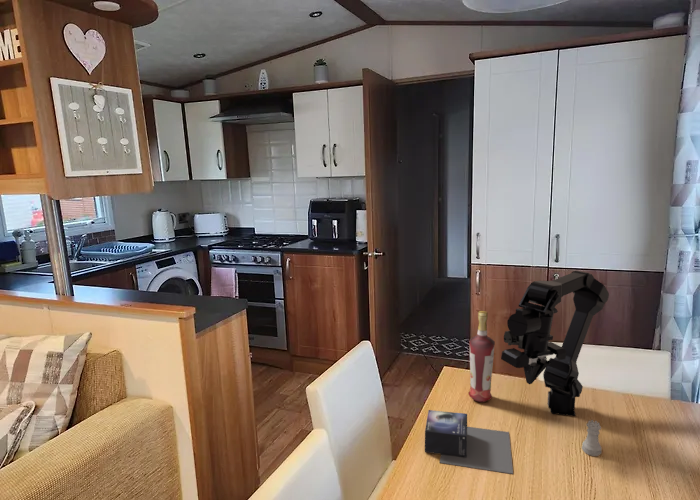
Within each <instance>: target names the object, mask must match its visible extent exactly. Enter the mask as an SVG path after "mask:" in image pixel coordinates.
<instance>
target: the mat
mask: <svg viewBox="0 0 700 500" xmlns="http://www.w3.org/2000/svg"><path fill="white" fill-rule="evenodd" d="M510 438H511V437H510V432H509V431H503V430H497V429H487V428H482V427H481V428H480V427H472V426H467V457H460V456H453V455H446V454H440V456H439V457H440V458H439V464H444V465H449V466H450V465H452V466H458V467H464V468H468V469H469V468H470V469H478V470H483V471H488V472H489V471H490V472H495V473H496V472H498V473H501V474H502V473H503V474H509V475H514V470H513V469H514V468H513V459H512V450H511V440H510Z"/></svg>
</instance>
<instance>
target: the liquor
mask: <svg viewBox="0 0 700 500" xmlns="http://www.w3.org/2000/svg"><path fill="white" fill-rule="evenodd" d="M477 314H478V315H477V319H478V327H477V333H476V335H474V336H472V337H471V338H470V339H469V341H468V342H469V379H470V380H469V381H470V383H469V385H470V387H469V392H468V395H469V397H470V398H471V399H472V400H473V401H475V402H477V403H486V402H488V401H489V400H491V399H492V397H493V395H492V393H491V391H492V376H493V365H494V364H493V363H494V355H495V340H494V339H493V338H491V337H490V336H488V327H487V322H488V317H489V316H488V314H489V313H488V311H486V310H480V311H478V313H477Z"/></svg>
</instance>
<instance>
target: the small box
mask: <svg viewBox="0 0 700 500" xmlns="http://www.w3.org/2000/svg"><path fill="white" fill-rule="evenodd" d="M467 427H468V413H464V412H463V413H462V412H451V411H442V410H441V411H440V410H433V409H432V410H431V409H429V410H428V412H427V417H426V423H425V429H424V453H430V454H436V455H437V454H438V455H441V454H446V455H453V456H460V457H467Z"/></svg>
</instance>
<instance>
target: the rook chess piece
mask: <svg viewBox="0 0 700 500" xmlns="http://www.w3.org/2000/svg"><path fill="white" fill-rule="evenodd" d="M586 427H587V429H586V431H587V435H586V437H585V439H584V440H583V442H582V445H581V449H582V451H583V452H584V453H585V454H586V455H588V456H591V457H598V456H600V455H601V454H602V450H603V449H602V446H601V443H600V440H599V435H600V430H601V429H602V426H601V425H600V421H599V422H598V420H595V421H594V419H590V420H589V419H588V422H586Z"/></svg>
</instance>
